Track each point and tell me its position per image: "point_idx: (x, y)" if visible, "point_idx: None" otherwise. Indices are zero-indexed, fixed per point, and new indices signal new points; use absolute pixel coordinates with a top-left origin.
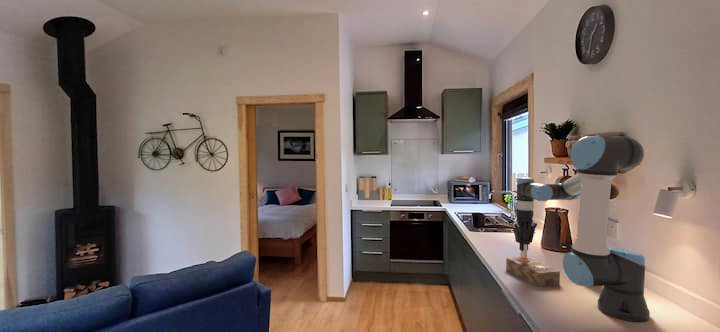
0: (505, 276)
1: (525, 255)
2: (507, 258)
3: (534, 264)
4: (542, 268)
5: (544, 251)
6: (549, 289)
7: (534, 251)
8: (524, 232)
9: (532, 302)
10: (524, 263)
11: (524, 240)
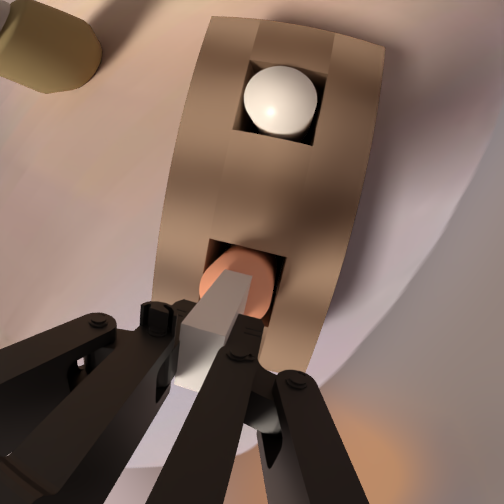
0: (401, 263)
1: (235, 279)
2: (306, 368)
3: (243, 177)
4: (293, 70)
5: None
6: None
7: None
8: (154, 500)
9: (492, 33)
10: (299, 230)
11: (207, 375)
